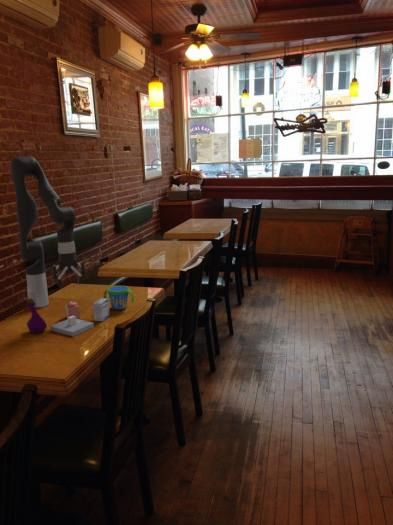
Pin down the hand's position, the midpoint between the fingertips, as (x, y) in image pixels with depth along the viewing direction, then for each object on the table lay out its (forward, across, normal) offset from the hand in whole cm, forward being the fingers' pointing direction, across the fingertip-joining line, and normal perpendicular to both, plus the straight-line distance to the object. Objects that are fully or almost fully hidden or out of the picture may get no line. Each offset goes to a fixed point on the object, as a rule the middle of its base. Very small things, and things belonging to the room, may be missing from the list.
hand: (70, 285), depth 199 cm
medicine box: (+16, +12, -8) cm, 22 cm away
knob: (+16, 0, 0) cm, 16 cm away
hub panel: (+16, -3, -14) cm, 22 cm away
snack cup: (+16, +23, +2) cm, 28 cm away
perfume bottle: (+16, -17, -10) cm, 25 cm away
